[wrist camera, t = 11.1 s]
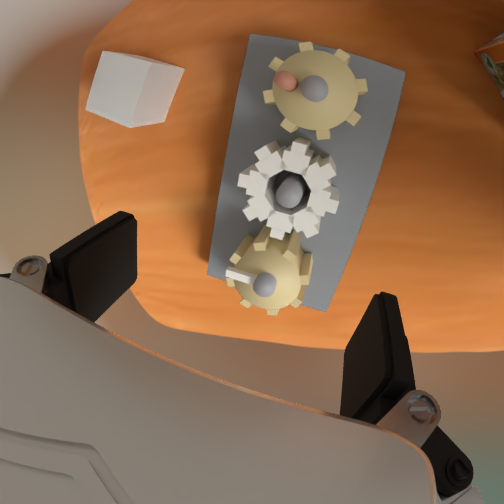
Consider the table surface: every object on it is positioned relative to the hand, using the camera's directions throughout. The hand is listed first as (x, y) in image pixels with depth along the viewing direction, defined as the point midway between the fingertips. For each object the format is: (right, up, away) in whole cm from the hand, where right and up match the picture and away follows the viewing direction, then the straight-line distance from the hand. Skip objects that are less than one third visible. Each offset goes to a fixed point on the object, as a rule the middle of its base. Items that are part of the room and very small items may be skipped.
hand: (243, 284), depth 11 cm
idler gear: (+4, +7, +14) cm, 16 cm away
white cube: (-10, +18, +15) cm, 26 cm away
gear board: (+5, +8, +16) cm, 18 cm away
